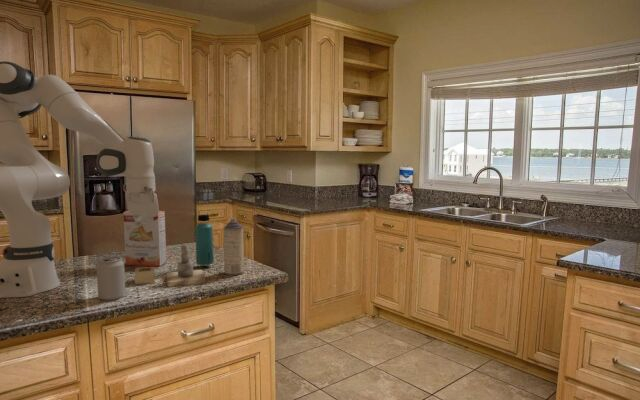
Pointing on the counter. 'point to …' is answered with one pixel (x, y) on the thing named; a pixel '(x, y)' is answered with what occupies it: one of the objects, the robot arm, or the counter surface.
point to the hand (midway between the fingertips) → (143, 227)
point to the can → (110, 278)
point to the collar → (144, 275)
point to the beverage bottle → (204, 241)
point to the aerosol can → (233, 248)
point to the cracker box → (145, 241)
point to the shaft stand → (185, 271)
